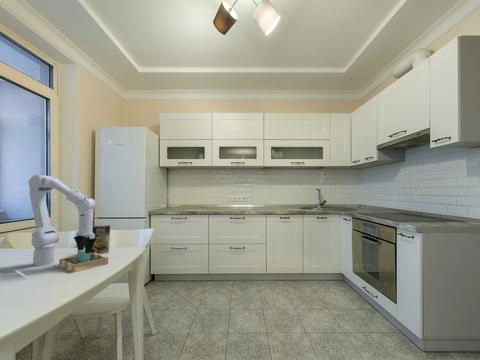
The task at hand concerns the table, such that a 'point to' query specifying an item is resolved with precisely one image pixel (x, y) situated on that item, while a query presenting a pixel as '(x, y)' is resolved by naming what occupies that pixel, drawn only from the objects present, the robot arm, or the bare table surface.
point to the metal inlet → (81, 262)
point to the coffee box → (101, 239)
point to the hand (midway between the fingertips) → (84, 251)
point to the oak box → (85, 265)
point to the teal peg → (82, 256)
